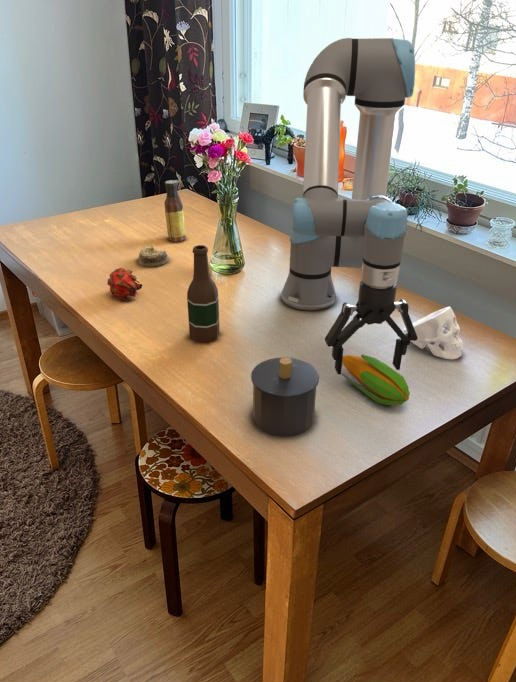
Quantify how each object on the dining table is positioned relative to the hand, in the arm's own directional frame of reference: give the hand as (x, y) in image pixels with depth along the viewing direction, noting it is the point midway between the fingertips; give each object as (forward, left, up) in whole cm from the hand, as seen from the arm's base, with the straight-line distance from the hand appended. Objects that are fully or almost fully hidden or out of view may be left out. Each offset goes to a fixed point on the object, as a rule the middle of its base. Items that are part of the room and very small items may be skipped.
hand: (367, 369), depth 132 cm
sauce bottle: (-94, -40, -4) cm, 102 cm away
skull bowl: (-13, +21, -4) cm, 25 cm away
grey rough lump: (-76, -48, -4) cm, 90 cm away
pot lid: (+10, -21, +6) cm, 24 cm away
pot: (+10, -21, -4) cm, 24 cm away
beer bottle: (-26, -35, -4) cm, 44 cm away
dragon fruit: (-52, -56, -4) cm, 76 cm away
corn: (+3, 0, -4) cm, 5 cm away
